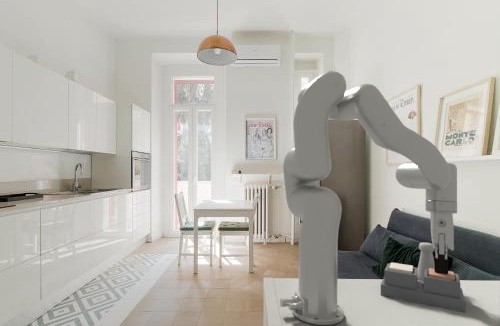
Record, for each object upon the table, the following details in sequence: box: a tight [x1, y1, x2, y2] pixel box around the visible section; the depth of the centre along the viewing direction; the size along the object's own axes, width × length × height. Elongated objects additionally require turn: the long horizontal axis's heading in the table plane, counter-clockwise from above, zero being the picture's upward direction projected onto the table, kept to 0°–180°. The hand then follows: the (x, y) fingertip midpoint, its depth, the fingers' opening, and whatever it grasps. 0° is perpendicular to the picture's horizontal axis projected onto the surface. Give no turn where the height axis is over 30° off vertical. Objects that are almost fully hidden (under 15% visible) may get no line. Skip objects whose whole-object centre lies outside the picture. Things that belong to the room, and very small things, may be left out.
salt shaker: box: [417, 242, 435, 281], centre depth 97 cm, size 6×6×13 cm
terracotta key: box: [429, 268, 455, 281], centre depth 84 cm, size 6×6×4 cm
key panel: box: [380, 262, 466, 313], centre depth 86 cm, size 20×10×7 cm, turn 59°
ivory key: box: [389, 262, 414, 274], centre depth 89 cm, size 6×6×4 cm
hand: (441, 272), depth 84 cm, fingers closed
